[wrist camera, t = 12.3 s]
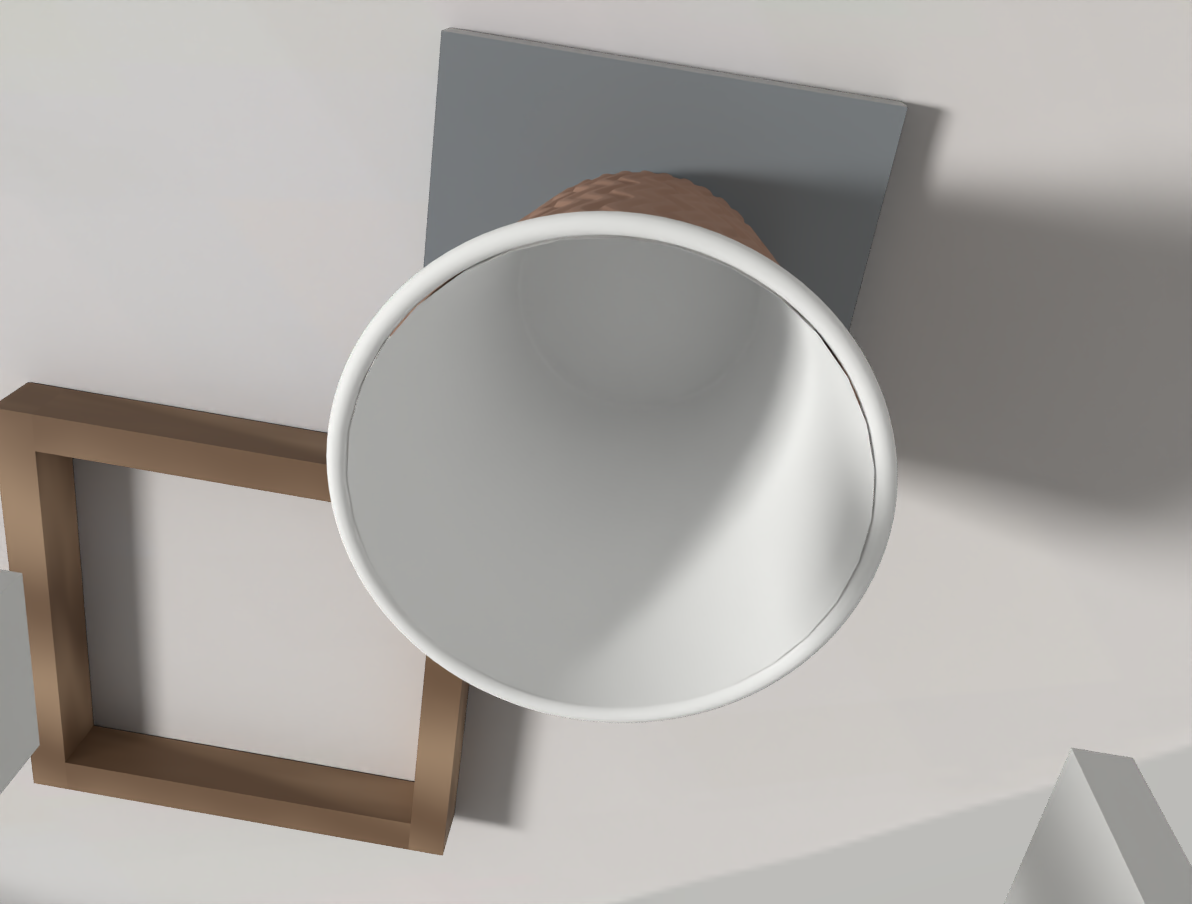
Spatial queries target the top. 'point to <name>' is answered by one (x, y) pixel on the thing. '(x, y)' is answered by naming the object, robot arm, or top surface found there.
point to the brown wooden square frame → (59, 644)
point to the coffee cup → (613, 458)
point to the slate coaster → (659, 148)
